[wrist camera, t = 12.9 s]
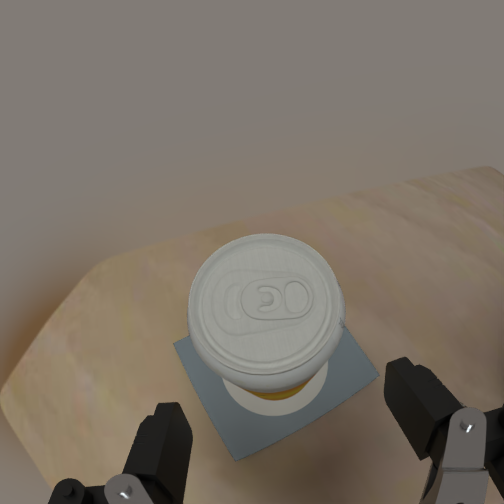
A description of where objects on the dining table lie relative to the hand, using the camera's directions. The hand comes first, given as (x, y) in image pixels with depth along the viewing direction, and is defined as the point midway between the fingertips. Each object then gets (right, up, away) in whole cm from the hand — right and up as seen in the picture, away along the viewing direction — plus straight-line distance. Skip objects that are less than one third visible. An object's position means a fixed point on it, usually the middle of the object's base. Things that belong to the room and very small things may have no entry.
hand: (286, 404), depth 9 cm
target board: (+1, -4, +14) cm, 15 cm away
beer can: (+1, -4, +13) cm, 14 cm away
